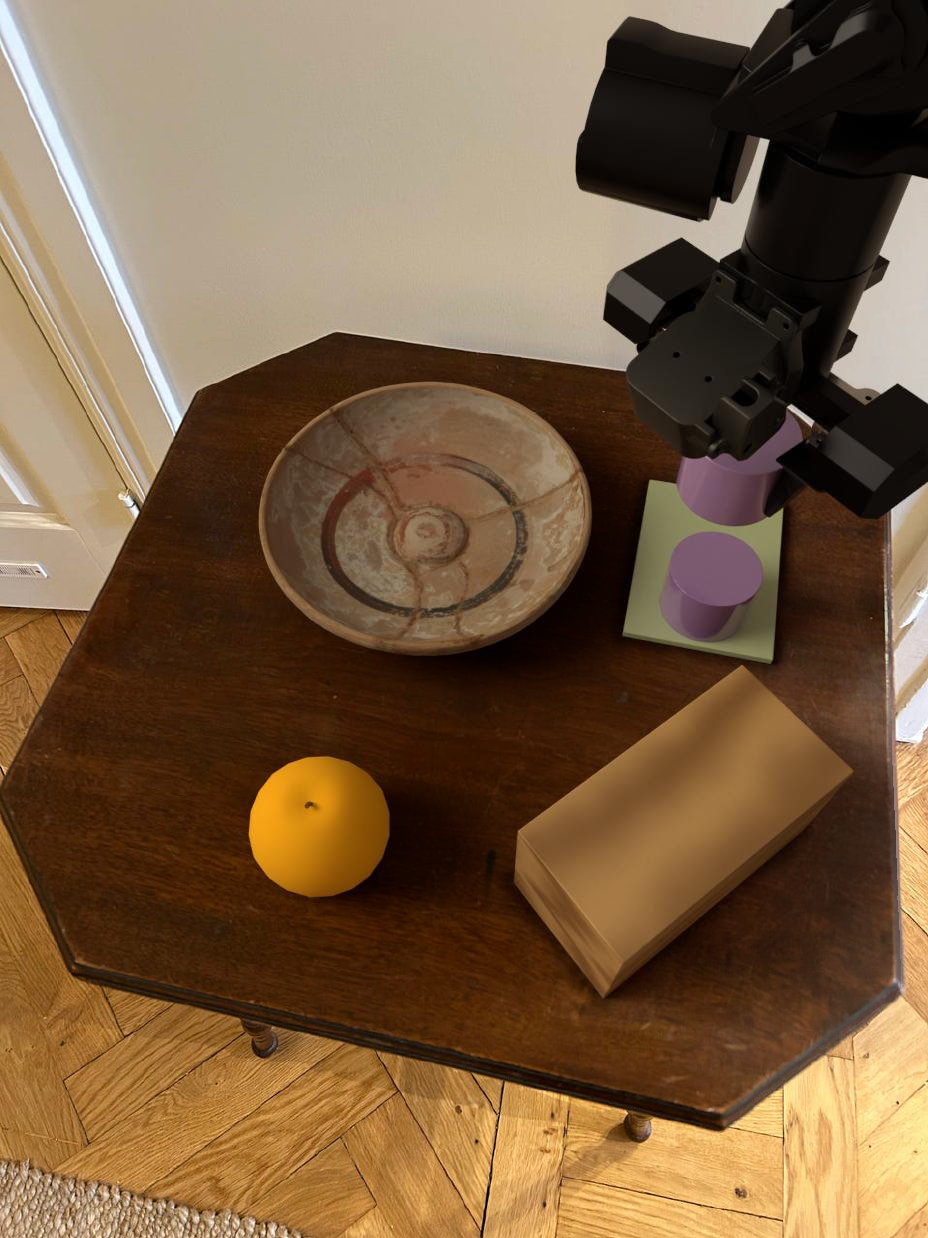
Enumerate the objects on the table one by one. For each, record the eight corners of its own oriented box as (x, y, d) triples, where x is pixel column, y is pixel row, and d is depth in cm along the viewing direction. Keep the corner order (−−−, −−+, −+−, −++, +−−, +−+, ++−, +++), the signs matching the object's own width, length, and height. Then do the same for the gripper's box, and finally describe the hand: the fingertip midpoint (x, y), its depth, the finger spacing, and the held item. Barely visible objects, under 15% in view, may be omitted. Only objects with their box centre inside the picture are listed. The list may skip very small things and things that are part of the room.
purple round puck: (765, 612, 62) (783, 574, 59) (701, 658, 60) (716, 622, 57) (703, 556, 65) (716, 516, 61) (640, 598, 63) (650, 560, 59)
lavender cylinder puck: (802, 493, 53) (826, 438, 49) (729, 544, 51) (748, 491, 47) (726, 433, 55) (744, 377, 52) (654, 480, 53) (667, 425, 50)
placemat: (770, 664, 61) (773, 660, 60) (622, 636, 62) (623, 631, 62) (782, 506, 68) (784, 500, 68) (648, 484, 69) (649, 479, 69)
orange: (404, 789, 57) (393, 739, 50) (383, 918, 52) (369, 880, 46) (278, 777, 57) (252, 725, 51) (249, 902, 53) (216, 863, 47)
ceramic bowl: (236, 667, 62) (218, 628, 57) (308, 417, 74) (297, 370, 70) (578, 698, 60) (585, 660, 56) (592, 436, 72) (599, 389, 68)
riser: (804, 829, 55) (854, 770, 47) (603, 999, 50) (623, 964, 42) (709, 733, 58) (742, 664, 51) (513, 882, 53) (517, 831, 46)
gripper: (531, 210, 41) (521, 449, 54) (860, 451, 33) (753, 663, 46) (707, 124, 44) (657, 368, 58) (1043, 321, 36) (895, 554, 49)
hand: (730, 478), depth 53 cm, fingers closed on lavender cylinder puck, 6 cm apart
